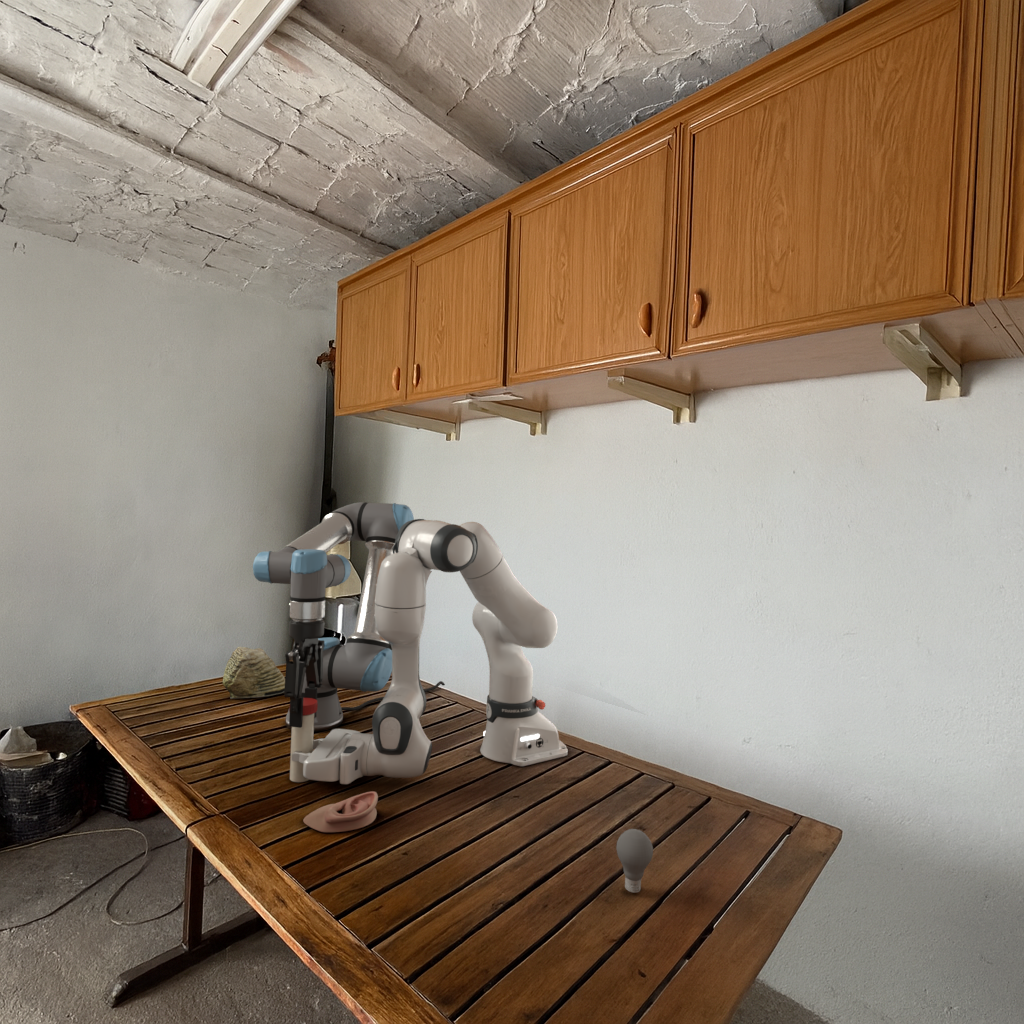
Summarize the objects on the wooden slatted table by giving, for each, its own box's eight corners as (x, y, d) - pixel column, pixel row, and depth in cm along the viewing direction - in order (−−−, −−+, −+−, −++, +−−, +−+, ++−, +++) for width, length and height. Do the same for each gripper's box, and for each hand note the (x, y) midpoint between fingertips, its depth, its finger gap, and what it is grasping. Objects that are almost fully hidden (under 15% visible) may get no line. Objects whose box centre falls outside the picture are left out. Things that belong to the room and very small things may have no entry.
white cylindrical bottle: (291, 783, 139) (293, 708, 139) (288, 774, 143) (290, 702, 143) (313, 780, 141) (316, 706, 141) (310, 771, 146) (312, 700, 145)
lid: (312, 716, 139) (313, 706, 139) (285, 715, 139) (285, 705, 139) (320, 707, 145) (321, 698, 145) (294, 706, 145) (294, 697, 145)
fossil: (218, 695, 195) (220, 647, 195) (278, 685, 208) (279, 640, 207) (228, 703, 189) (230, 653, 188) (289, 692, 201) (290, 645, 201)
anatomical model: (295, 807, 120) (325, 781, 132) (294, 828, 121) (324, 800, 132) (360, 817, 118) (384, 790, 129) (359, 838, 118) (384, 809, 129)
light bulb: (610, 879, 108) (613, 822, 108) (644, 879, 109) (647, 822, 109) (619, 902, 102) (622, 840, 102) (655, 901, 103) (658, 840, 103)
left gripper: (311, 610, 152) (307, 706, 152) (268, 625, 133) (264, 734, 133) (341, 612, 150) (337, 709, 151) (301, 628, 132) (297, 738, 132)
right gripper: (371, 723, 152) (314, 720, 153) (345, 758, 132) (280, 754, 132) (370, 749, 152) (313, 746, 153) (344, 788, 132) (279, 784, 132)
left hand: (303, 721), depth 142 cm, fingers closed on lid, 6 cm apart
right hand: (297, 750), depth 142 cm, fingers closed on white cylindrical bottle, 5 cm apart
